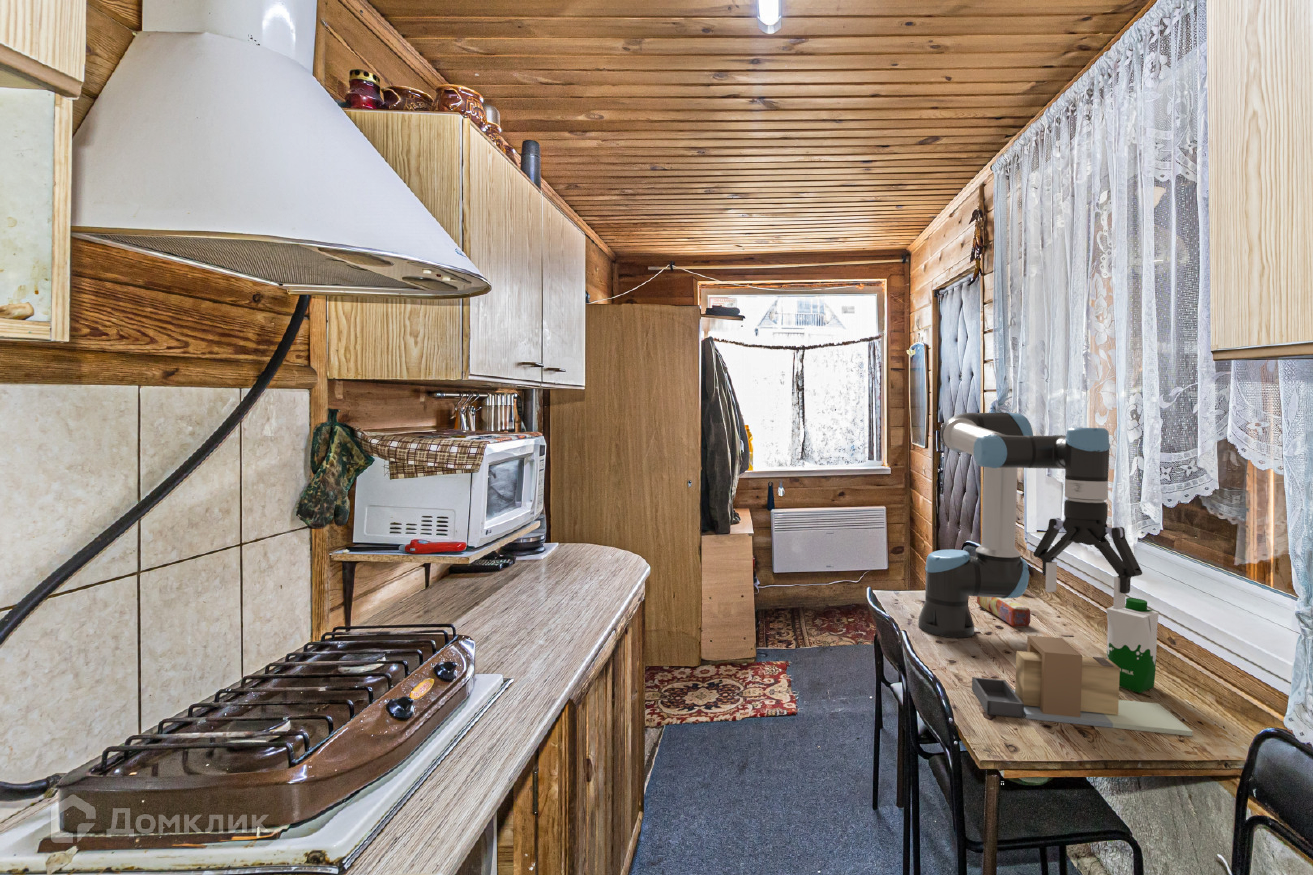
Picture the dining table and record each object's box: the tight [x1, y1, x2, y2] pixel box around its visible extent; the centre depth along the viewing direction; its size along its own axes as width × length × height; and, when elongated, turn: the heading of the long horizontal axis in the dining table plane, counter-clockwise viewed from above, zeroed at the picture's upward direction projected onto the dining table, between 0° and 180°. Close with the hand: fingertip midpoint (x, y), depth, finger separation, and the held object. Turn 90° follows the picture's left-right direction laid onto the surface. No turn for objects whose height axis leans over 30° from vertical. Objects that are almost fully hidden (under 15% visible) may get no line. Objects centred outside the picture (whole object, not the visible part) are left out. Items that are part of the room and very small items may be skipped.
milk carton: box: [1106, 597, 1159, 694], centre depth 145 cm, size 9×9×20 cm
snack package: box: [976, 596, 1031, 628], centre depth 195 cm, size 21×7×7 cm, turn 179°
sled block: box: [1014, 650, 1120, 715], centre depth 132 cm, size 5×18×10 cm, turn 77°
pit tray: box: [971, 676, 1025, 719], centre depth 136 cm, size 12×7×3 cm, turn 167°
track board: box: [1012, 634, 1194, 737], centre depth 131 cm, size 12×30×14 cm, turn 77°
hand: (1083, 599), depth 130 cm, fingers open, 13 cm apart
